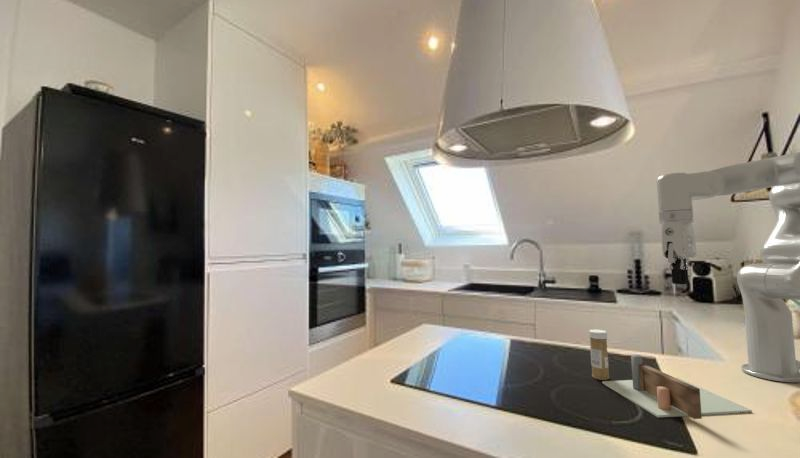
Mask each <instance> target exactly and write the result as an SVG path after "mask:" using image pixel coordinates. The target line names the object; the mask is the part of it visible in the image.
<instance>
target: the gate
mask: <svg viewBox="0 0 800 458" xmlns="http://www.w3.org/2000/svg"><path fill="white" fill-rule="evenodd" d="M639 376H640V389H641V390H643V391H646V392H648V393H650V394H651V395H653V396H655V397H657V387H658V386H662V387H667V388H669V389H670V402H671V406H673V407H675V408H677V409H679V410H680V411H682V412H684V413H686V414H688V416H687V417H690V418H692V419H694V420H701V419H703V418H702V416H703V415H701V401H700V389H699V388H697V387H694V386H692V385H690V384H688V383H685V382H683V381H681V380H679V379H677V378H678V377H674V376H672V375H670V374H668V373H665V372H663V371H661V370H659V369H657V368H654V367H652V366H649V365H648V364H643V363H642V364H640V365H639Z"/></svg>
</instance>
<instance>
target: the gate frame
mask: <svg viewBox="0 0 800 458" xmlns="http://www.w3.org/2000/svg"><path fill="white" fill-rule="evenodd" d="M630 359H631V372H632V373H631V377H632V379H627V380H626V379H624V380H601V381H602V382H601V383H602V384H603V385H604V386H606V387H608V388H610V389H611V390H613V391H614V392H615V393H618V394H620V395H621V396H622V397H624V398H625V399H627V400H629V401H630V402H632V403H633V404H635V405H637V406H638V407H640V408H641V409H643V410H645V411H647V412H648V413H650V414H651V415H653V416H654V417H656V418H659V419H660V418H675V417H689V416H688V414H686V413H684V412H682V411H680V410H679V409H677V408H675V407H673V406H671V402H670V389H669V388H667V387H662V386H658V387H657V397H655V396H653V395H651V394H650V393H648V392H646V391H643V390H641V389H640V376H639V365H640V364H643V356H642V355H639V354H631V355H630ZM676 378H677V379H679V380H681V381H683V382H685V383H688V384H690V385H692V386H694V387H697V388H699V389H700V401H701V415H702V416H709V415H710V416H711V415H713V416H714V415H730V414H729V413H733V414H743V413H742V412H751V413H753V410H752V409H750V408H748V407H745V406H743V405H740V404H738V403H736V402H735V401H732V400H730V399H727V398H725V397H722V396H721V395H718V394H716V393H713V392H711V391H709V390H707V389H704V388H703V387H700V386H697V385H695V384H693V383H691V382H689V381H686V380H684V379H682V378H680V377H676ZM740 412H741V413H740Z"/></svg>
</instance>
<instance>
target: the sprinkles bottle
mask: <svg viewBox="0 0 800 458" xmlns="http://www.w3.org/2000/svg"><path fill="white" fill-rule="evenodd" d="M588 335H589V342H590V343H589V344H590V365H591V376H592V378H593V379H595V380H599V381H609V380H610V377H611V376H610V374H609V373H610V371H609V356H608V355H609V354H608V345H607V343H608V340H607V339H608V333H607V331H606V330H604V329H603V330H602V329H590V330H588Z"/></svg>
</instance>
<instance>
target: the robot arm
mask: <svg viewBox="0 0 800 458" xmlns="http://www.w3.org/2000/svg"><path fill="white" fill-rule="evenodd" d="M768 188H771V189H770V190H769V194H768V198H769V202H770V204H771V205H772V209H773V211H774V214H775V216H776V217H775V218H776V223H775V224H774V227H773V228H772V229H771V231H770V233H769V234H768V236H767V238H766V239H765V242H764V243H763V245H762V247H761V249H760V252H759V255H760V259H761V260H762V261H763V262H762V263H761V262H760V263H757V262H756V263H751V264H746V265H744V266H742V267H741V268H740V269H739V270H738V272H737V275H736V280H737V285H738V289H739V291H740V294H741V297H742V302H743V311H744V323H745V333H746V334H745V335H746V337H745V338H746V349H747V359H748V361H747V362H748V363H744V364H742V365H741V370H742V372H744V373H746V374H748V375H750V376H752V377H757V378H760V379H764V380H768V381H775V382H781V383H800V360H797V359H796V358H797V357H796V347H795V336H794V325H793V323H794V322H793V321H794V320H793V315H792V314H793V313H792V311H791V310H790V308H789V306H788V305H787V304H786V303H785V301H784V300H791V301H800V151H798V152H793V153H789V154H783V155H778V156H774V157H768V158H763V159H758V160H752V161H746V162H742V163H736V164H730V165H726V166H723V167H719V168H716V169H711V170H707V171H700V172H698V171H697V172H693V173H686V172H671V173H667V174H662V175H660V176H658V178H657V179H656V191H657V206H658V207H657V208H658V219H659V220H658V221H659V222H658V223H659V225H661V251H662V256H663V257H664V259H667V262H668V264H670V269H671V282H672V284H674V285H689V272H688V271H689V270H688V269H689V265H688V263H689V262H690V259H692V258H696V257H697V246H696V238H695V232H694V228H693V223H694V209H693V201H699V200H705V199H711V198H714V197H720V196H731V195H736V194H742V193H749V192H753V191H758V190H763V189H768Z"/></svg>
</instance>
